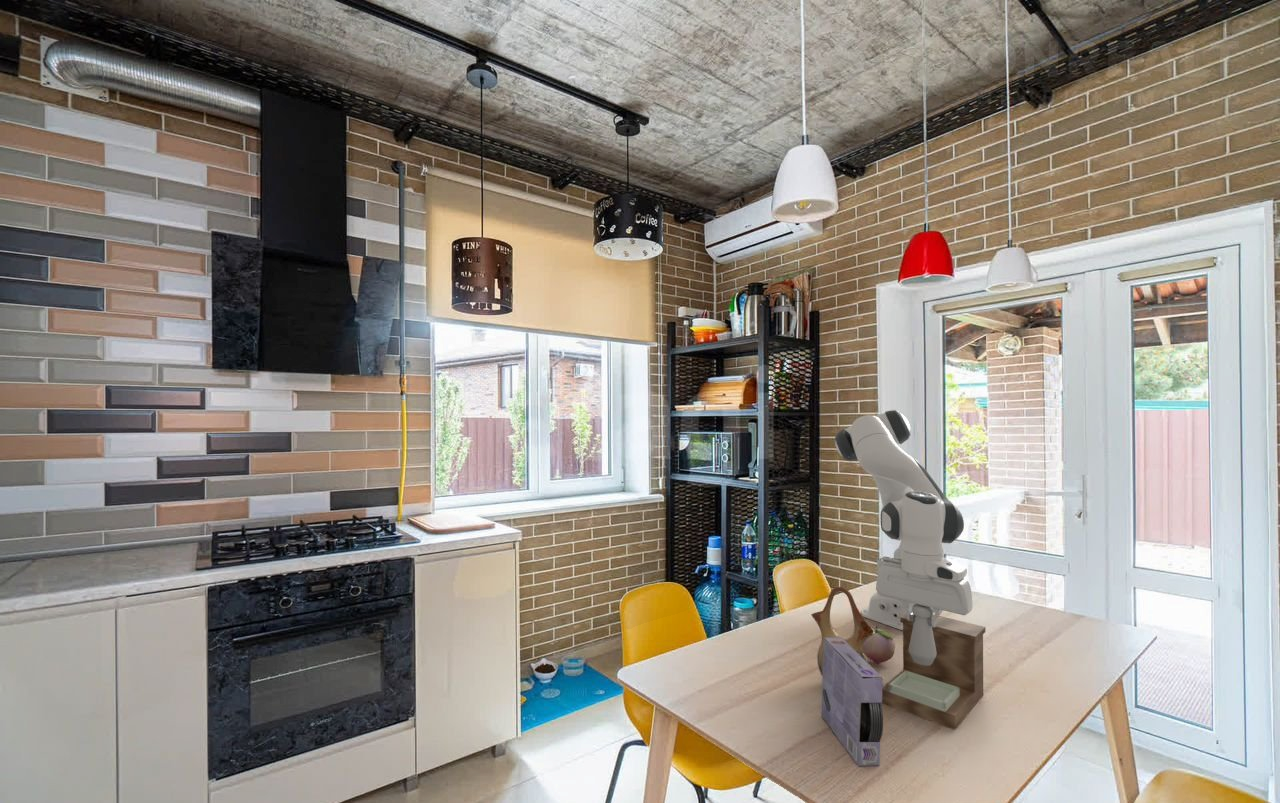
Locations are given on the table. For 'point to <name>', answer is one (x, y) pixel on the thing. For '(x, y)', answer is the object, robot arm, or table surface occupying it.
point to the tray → (924, 690)
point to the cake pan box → (852, 701)
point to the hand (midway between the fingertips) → (921, 623)
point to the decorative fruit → (879, 646)
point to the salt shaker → (922, 637)
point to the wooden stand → (945, 669)
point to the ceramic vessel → (827, 631)
